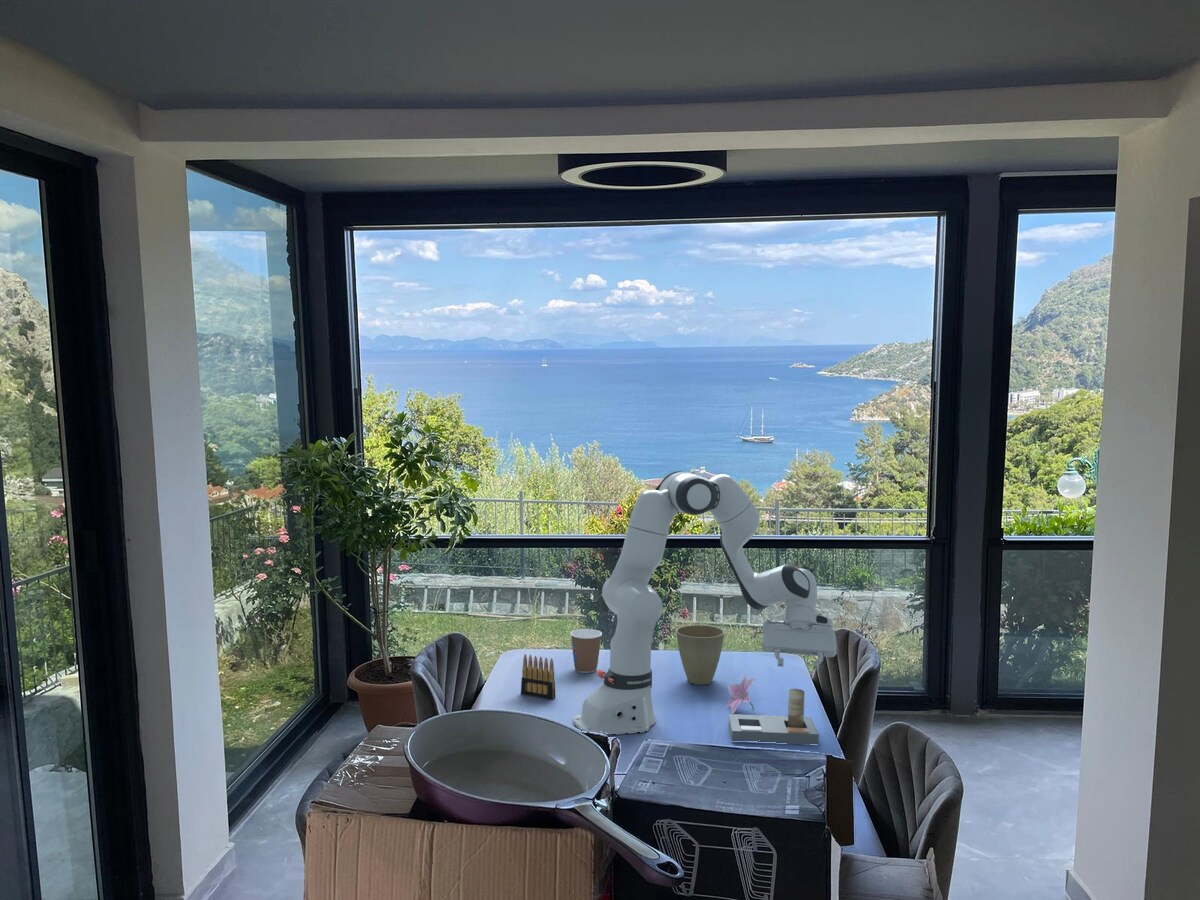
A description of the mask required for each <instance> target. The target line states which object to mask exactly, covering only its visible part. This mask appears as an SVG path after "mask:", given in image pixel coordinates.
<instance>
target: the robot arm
mask: <svg viewBox="0 0 1200 900" xmlns="http://www.w3.org/2000/svg"><path fill="white" fill-rule="evenodd" d="M706 512H710V514H712V516H713V517H714V519H715V520H716V522H717V524H718V526H719V527H720V530H721V534H720V537H719V542H720V546H721V549H722V551H723V554H724V557H725V558H726V560H727V563H728V564H729V566H730V569H731V571H732V573H733V575H734V577H735V580H736V581H737V583H738V586H739V588H740V592H741V595H742V598H743V600H744V602H745V603H746V604H747V605H748V606H749V607H751V608H752V609H755V610H757V611H760V610H763V609H766V608H768V607H771V606H773V605H777V604H779V603H783V602H784V603H785V604H786V606H785V609H784V620H773V619H770V620H768V621H765V622H763V624H762V627H761V628H762V629H761V631H762V633H763V635H762V641H761V647H762V649H763V651H764V652H766V653H774V657H775V658H776V661H777V667H782V668H783V667H784V661H785V660H784V659H785V658H783V657H781V656H780V655H781V654H790V655H791V654H792V655H800V656H802V655H803V656H811V657H812V656H813V657H814V656H815V657H817V660H813V662H812V665H813V668H812V669H813V670H816V671H817V670H818V671H819V670H820V664H821V663H822V662H823V660H824V657H825V658H826V657H828V658H834V657H836V655H837V652H838V651H837V650H838V649H837V648H838V647H837V646H838V645H837V635H836V632H835V630H834V628H833V621H832V619H831V618H830V617H827V616H824V615H821V614H819V613H818V612H817V609H816V606H817V604H818V587H817V586H818V585H817V581H816V577H815V575H814V574H813V573H812V572H811V571H810V570H808V569H805V568H803V567H802V568H800V567H799V568H798V567H796V566H794V565H792V564H789V563H788V564H787V563H786V564H783V565H780V566H777V567H774V568H771V569H768V570H766V571H765V570H764V571H763V572H755V571H754V570H753V569H752V566H751V564H750V563H749V560H748V558H747V556H746V554H745V551H744V549H743V546H744V545H746V543H748V542H749V541H750V539H751V538H752V537H753V536H754V534H755V533H756V532H757V530H758V527H759V524H760V515H759V511H758V510H757V507H756V506H755V505H754V503H753V502H752V500H751V499H750V497H749V496H748V494H747V493H746V492H745V490H744V489H743V488H742V487H741V486H740V485H739V484H738V482H736V480H734V479H733V478H732V477H731V476H730V475H727V474H724V473H722V474H718V475H714V476H712V477H710V479H707V477H704V476H702V475H701V476H700V475H697V474H695V473H692V472H688V471H679V470H678V471H672V472H671V473H669V474H667V475H666V476H665V477H664V478H663V479H661V482H660V483H659V484H658V485H657V486H656V488H654V489H647V490H644V491H642V492H640V494H639V495H638V498H636V501H635V504H634V506H633V509H632V512H631V514H630V517H629V521H628V525H627V528H626V529H627V530H626V533H625V538H624V541H623V546H622V549H621V553H620V555H619V558H618V560H617V563H616V565H615V567H614V569H613V571H612V573H611V575H610V576H609V578H607V579H606V580H605V582H603V583H604V584H603V586H602V589H601V590H602V591H601V595H602V599H603V601H604V602H605V604H606V606H607V608H608V609H609V610H610V611H611V612H613V613H614V614H616V617H617V621H616V622H617V623H616V627H615V632H614V635H613V637H612V638H611V639H610V646H609V647H610V651H609V652H610V655H609V656H610V657H609V659H610V660H609V663H610V664H609V667H608V671H604V669H599V670H598V671H597V672H596V674H597V675H596V676H597V677H599V678H600V679H602V680H603V683H602V684H601V685H600V686H598V687H597V688H595V690H594V691H593V692H592V693H590V694H589V695H588V696H586V698H585V699H584V701H583V704H582V708H581V713H580V714H576V715H574V716H573V724H574V726H575V725H576V726H575V727H576V728H577V729H579V731H581V730H583V731H587V732H597V733H603V734H606V733H608V734H611V735H610V736H613V735H612V734H616V735H625V733H628V734H638V733H637V732H640V733H646V732H645V731H647V732H648V731H650V728H651V727H652V726H653V725H654V724H655V723H656V721H657V719H656V717H655V712H654V708H653V701H652V700H653V699H652V691H651V690H652V686H653V670H652V668H651V667H652V666H651V663H652V661H651V659H652V658H651V657H652V640H653V636H654V631H655V627H656V625H657V624H656V623H657V622H658V621H659V620H660V618H661V617H662V614H663V611H664V610H663V609H664V607H663V606H664V605H663V601H662V599H661V597H660V596H659V594H658V593H657V592H656V590H655V589H653V588H652V587H651V586H649V582H650V580H651V578H652V575H653V573H654V572H655V570H656V569H657V567H659V566H660V565H661V564H662V561H663V556H664V552H665V549H666V543H667V541H668V534H669V531H670V525H671V522H672V520H673V518H674V517H675V516H676V515H677V514H678V513H682V514H685V515H691V516H698V515H702V514H704V513H706ZM577 726H578V727H580V728H578V727H577ZM581 728H582V729H581ZM600 731H602V732H600ZM605 732H606V733H605Z"/></svg>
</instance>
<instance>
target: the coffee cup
mask: <svg viewBox="0 0 1200 900" xmlns="http://www.w3.org/2000/svg"><path fill="white" fill-rule="evenodd" d="M569 635H570V636H571V647H572V656H573V657H572V658H573V665H574V669H575V671H576V672H577V673H580V674H581V673H582V674H590V673H594V672H596V671H597V668H598V664H599V655H600V649H601V639H602V635H603V633H602V631H600V630H598V629H592V628H582V629H581V628H580V629H576V630H571V631H570V634H569Z"/></svg>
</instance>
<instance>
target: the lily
mask: <svg viewBox="0 0 1200 900" xmlns="http://www.w3.org/2000/svg"><path fill="white" fill-rule="evenodd" d="M755 680H756V678H755V677H754V678H750V679H748V680H747V674H745V675H743V678H742V679H741V681H740V683H730V684H729V685H728V693H729V695H730V696H731V697H730V698H729V700H728V701H727V703H726V705H725V708H728V707H730V714H734V713H735V712H736V710H737V708H738V706H739V705H740V704H741V703H749V705H750V706H751V707H752V709H753V708H754V709H755V707H754V705H753V704H752V702H751V699H750V696H749V693H748V691H749V689H750V687H751V686H752V685H753V683H754V682H755Z"/></svg>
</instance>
